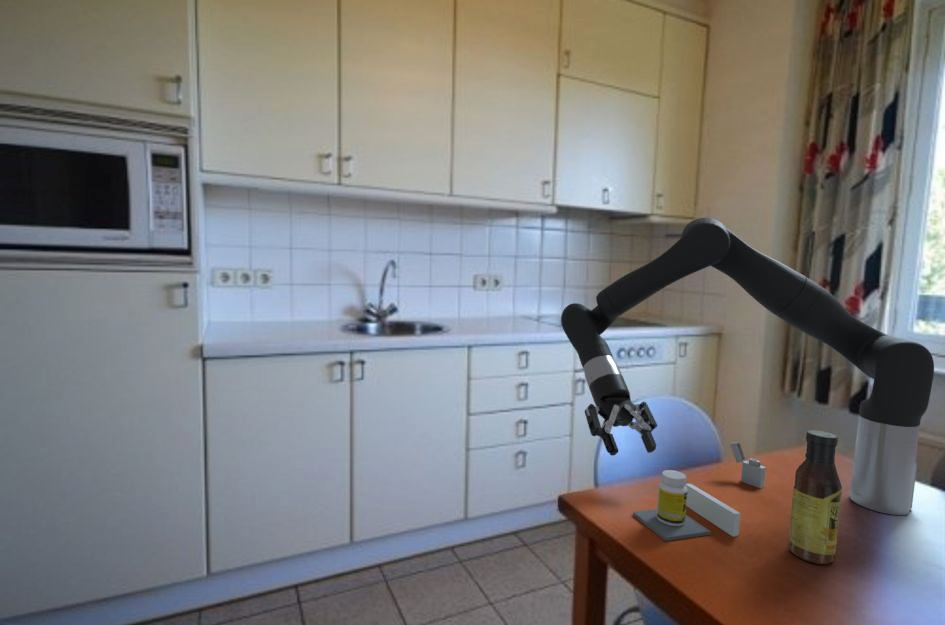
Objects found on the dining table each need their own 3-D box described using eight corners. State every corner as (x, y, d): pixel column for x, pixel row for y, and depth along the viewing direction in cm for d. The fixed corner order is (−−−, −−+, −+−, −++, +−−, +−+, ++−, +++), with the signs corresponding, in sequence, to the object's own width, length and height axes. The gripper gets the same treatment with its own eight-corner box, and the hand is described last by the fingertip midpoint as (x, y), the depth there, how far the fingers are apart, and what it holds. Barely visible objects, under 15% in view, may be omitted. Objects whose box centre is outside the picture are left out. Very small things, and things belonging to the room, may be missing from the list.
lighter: (764, 486, 106) (767, 449, 105) (760, 488, 105) (764, 451, 104) (730, 474, 112) (733, 439, 111) (727, 476, 111) (729, 441, 110)
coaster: (674, 509, 94) (674, 506, 94) (709, 534, 86) (710, 531, 85) (632, 514, 91) (633, 511, 91) (665, 541, 83) (665, 537, 83)
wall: (688, 503, 97) (690, 483, 96) (738, 535, 85) (740, 513, 85) (683, 504, 96) (685, 484, 96) (732, 536, 85) (734, 514, 85)
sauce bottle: (836, 571, 76) (850, 444, 74) (787, 558, 79) (799, 435, 77) (832, 552, 82) (845, 432, 80) (787, 539, 85) (798, 425, 83)
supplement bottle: (687, 529, 86) (691, 481, 85) (658, 525, 87) (662, 478, 86) (681, 515, 91) (685, 470, 90) (654, 512, 91) (657, 467, 91)
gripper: (583, 373, 103) (610, 446, 94) (642, 371, 108) (674, 441, 98) (569, 391, 109) (593, 463, 99) (625, 389, 113) (654, 457, 103)
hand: (633, 452), depth 99 cm, fingers open, 8 cm apart
